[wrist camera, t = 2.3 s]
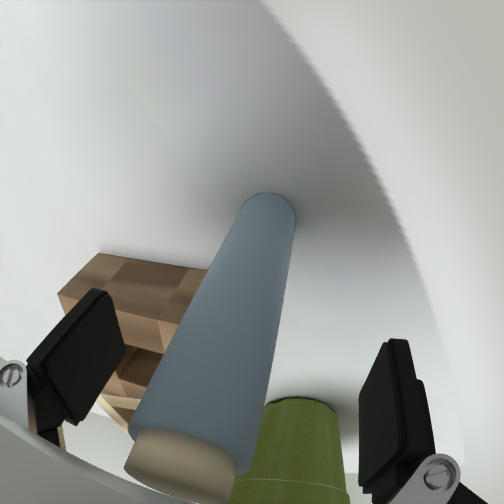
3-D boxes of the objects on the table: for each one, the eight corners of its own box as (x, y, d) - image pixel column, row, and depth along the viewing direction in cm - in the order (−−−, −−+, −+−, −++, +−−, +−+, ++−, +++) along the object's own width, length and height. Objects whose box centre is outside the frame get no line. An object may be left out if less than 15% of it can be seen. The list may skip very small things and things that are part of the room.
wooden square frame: (98, 253, 21) (57, 293, 16) (231, 274, 19) (207, 330, 15) (124, 347, 26) (99, 388, 22) (231, 373, 24) (216, 423, 20)
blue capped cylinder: (241, 189, 16) (91, 441, 5) (298, 196, 16) (243, 488, 4) (240, 239, 18) (132, 484, 6) (292, 246, 18) (241, 515, 6)
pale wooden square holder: (110, 353, 27) (86, 391, 23) (177, 353, 25) (155, 401, 20) (149, 402, 30) (132, 437, 26) (213, 406, 28) (199, 449, 24)
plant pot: (217, 384, 26) (178, 498, 16) (355, 373, 22) (354, 510, 13) (257, 442, 31) (237, 529, 21) (363, 436, 27) (360, 532, 18)
